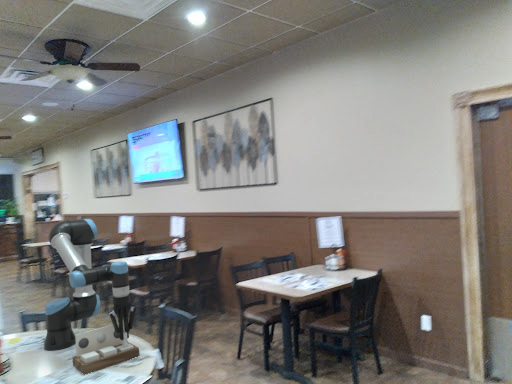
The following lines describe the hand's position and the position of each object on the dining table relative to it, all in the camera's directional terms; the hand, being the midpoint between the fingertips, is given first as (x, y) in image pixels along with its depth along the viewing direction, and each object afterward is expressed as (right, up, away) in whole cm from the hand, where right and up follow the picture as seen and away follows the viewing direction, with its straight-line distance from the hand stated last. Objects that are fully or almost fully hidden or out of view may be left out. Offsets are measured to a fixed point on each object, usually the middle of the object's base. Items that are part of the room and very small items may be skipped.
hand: (125, 346), depth 190 cm
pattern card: (-11, -2, +1) cm, 11 cm away
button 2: (0, -3, 0) cm, 3 cm away
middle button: (-6, -2, -5) cm, 8 cm away
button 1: (-12, -3, -10) cm, 16 cm away
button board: (-7, -6, -3) cm, 10 cm away
